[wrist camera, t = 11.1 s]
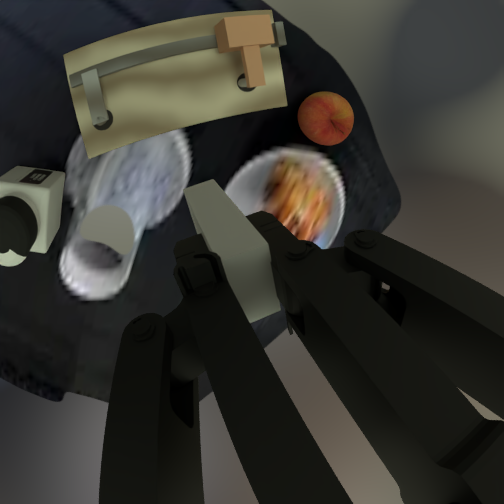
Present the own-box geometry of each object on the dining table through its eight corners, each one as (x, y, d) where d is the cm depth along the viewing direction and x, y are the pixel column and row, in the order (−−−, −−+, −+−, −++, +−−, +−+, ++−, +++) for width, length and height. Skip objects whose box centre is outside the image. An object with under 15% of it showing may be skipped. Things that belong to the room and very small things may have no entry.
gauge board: (65, 56, 23) (58, 52, 20) (267, 12, 29) (279, 5, 26) (90, 157, 31) (85, 162, 28) (283, 105, 36) (295, 106, 33)
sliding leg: (211, 28, 27) (223, 17, 22) (251, 24, 28) (269, 14, 23) (223, 90, 31) (237, 89, 27) (261, 84, 32) (281, 83, 28)
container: (16, 164, 27) (-31, 197, 17) (66, 171, 31) (34, 207, 20) (13, 219, 30) (-25, 269, 19) (60, 227, 33) (34, 281, 23)
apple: (325, 86, 37) (360, 88, 30) (335, 132, 41) (369, 142, 34) (281, 97, 36) (312, 99, 29) (293, 145, 40) (324, 157, 33)
